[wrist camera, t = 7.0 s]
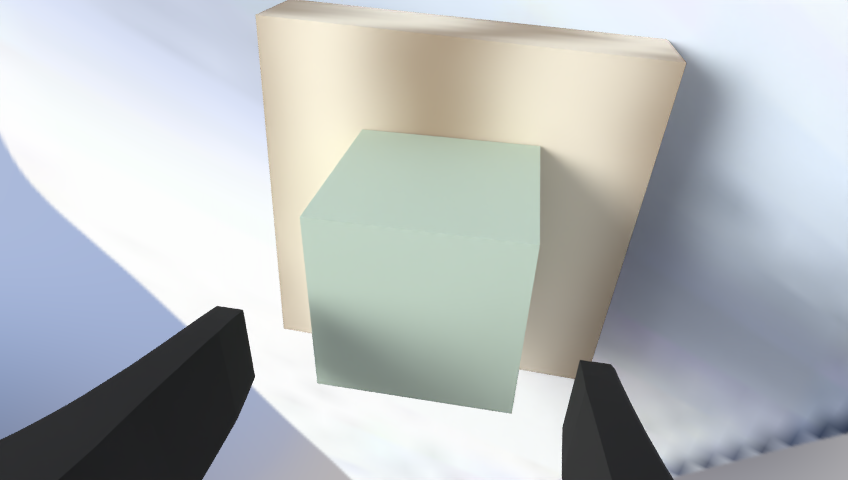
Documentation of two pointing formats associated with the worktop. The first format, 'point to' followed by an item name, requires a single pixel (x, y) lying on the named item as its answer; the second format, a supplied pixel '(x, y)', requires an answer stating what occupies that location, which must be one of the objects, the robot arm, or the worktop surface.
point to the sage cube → (424, 267)
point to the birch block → (475, 135)
